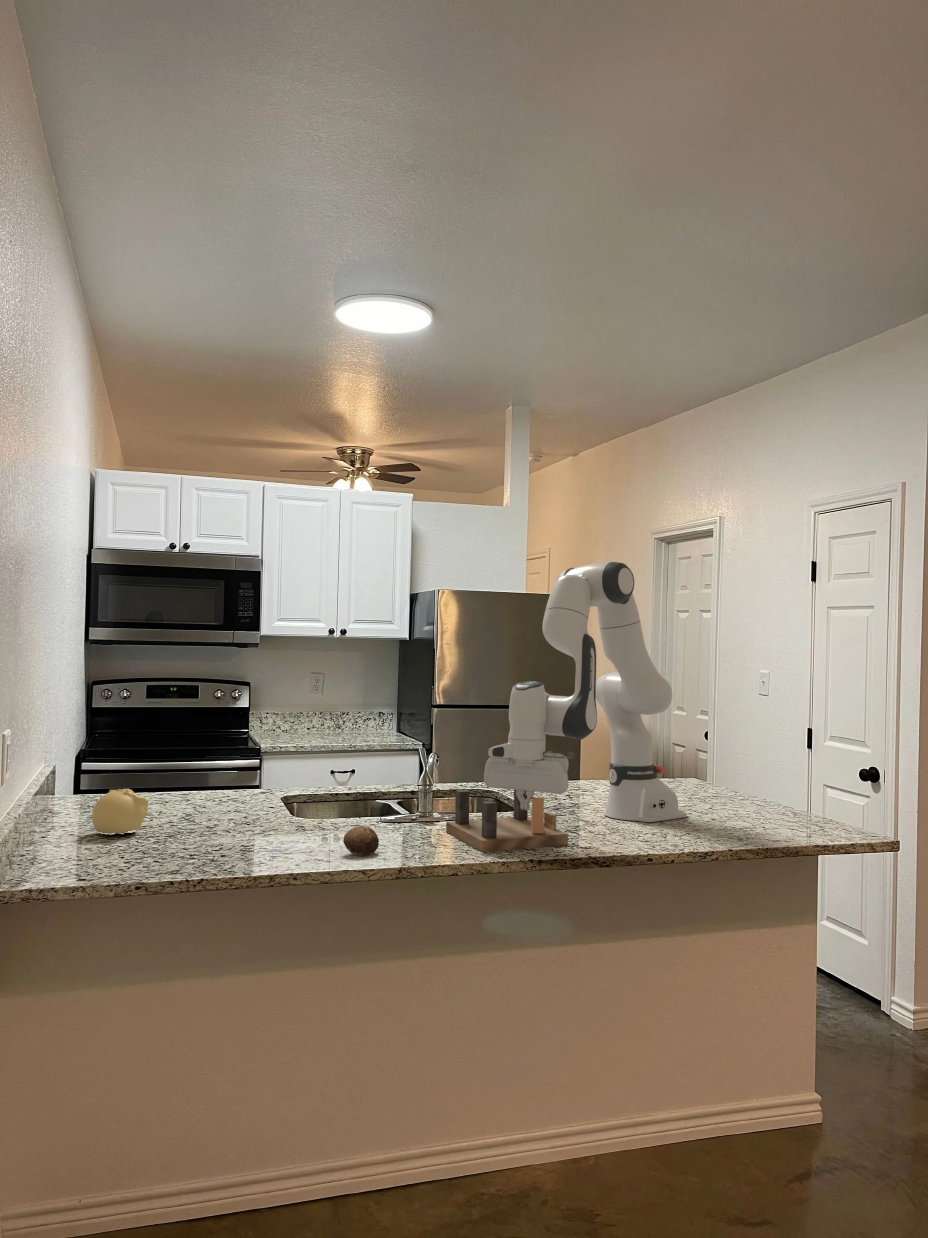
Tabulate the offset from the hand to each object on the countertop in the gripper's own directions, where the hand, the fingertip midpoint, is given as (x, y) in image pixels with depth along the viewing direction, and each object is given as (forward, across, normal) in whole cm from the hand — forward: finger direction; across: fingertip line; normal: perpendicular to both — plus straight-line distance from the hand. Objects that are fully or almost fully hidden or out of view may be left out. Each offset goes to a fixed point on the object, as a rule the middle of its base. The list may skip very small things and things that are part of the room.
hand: (525, 809), depth 219 cm
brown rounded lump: (+9, +29, +26) cm, 40 cm away
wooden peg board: (+8, +6, -3) cm, 10 cm away
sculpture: (+9, +90, +36) cm, 98 cm away
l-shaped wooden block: (+5, -2, -3) cm, 6 cm away
